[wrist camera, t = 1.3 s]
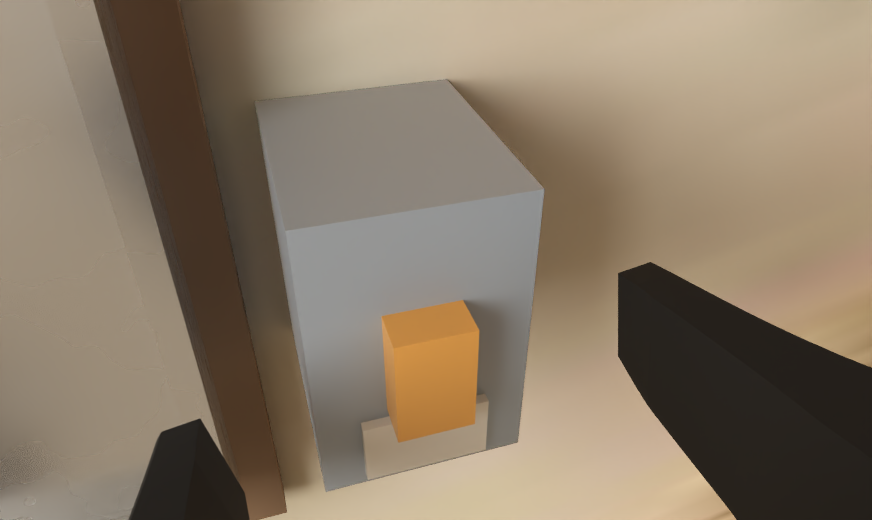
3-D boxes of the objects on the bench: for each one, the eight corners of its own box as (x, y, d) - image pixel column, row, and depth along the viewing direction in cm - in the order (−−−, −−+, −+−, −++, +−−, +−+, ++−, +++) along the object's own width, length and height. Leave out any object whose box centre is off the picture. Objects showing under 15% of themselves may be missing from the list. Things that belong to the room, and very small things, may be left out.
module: (445, 77, 14) (567, 214, 10) (443, 297, 18) (533, 473, 13) (254, 99, 13) (292, 263, 9) (291, 327, 17) (333, 527, 12)
